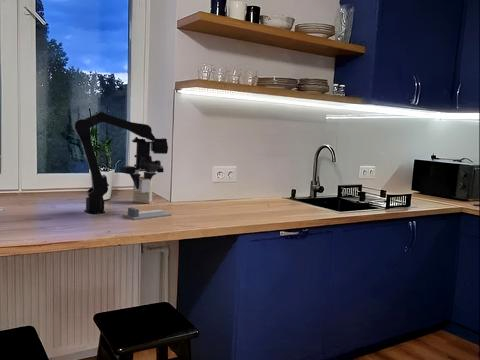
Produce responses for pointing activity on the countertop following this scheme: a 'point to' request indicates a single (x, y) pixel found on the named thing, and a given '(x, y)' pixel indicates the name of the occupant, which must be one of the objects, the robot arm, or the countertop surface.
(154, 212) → the rail board
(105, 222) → the countertop surface
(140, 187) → the module
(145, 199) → the supplement box
